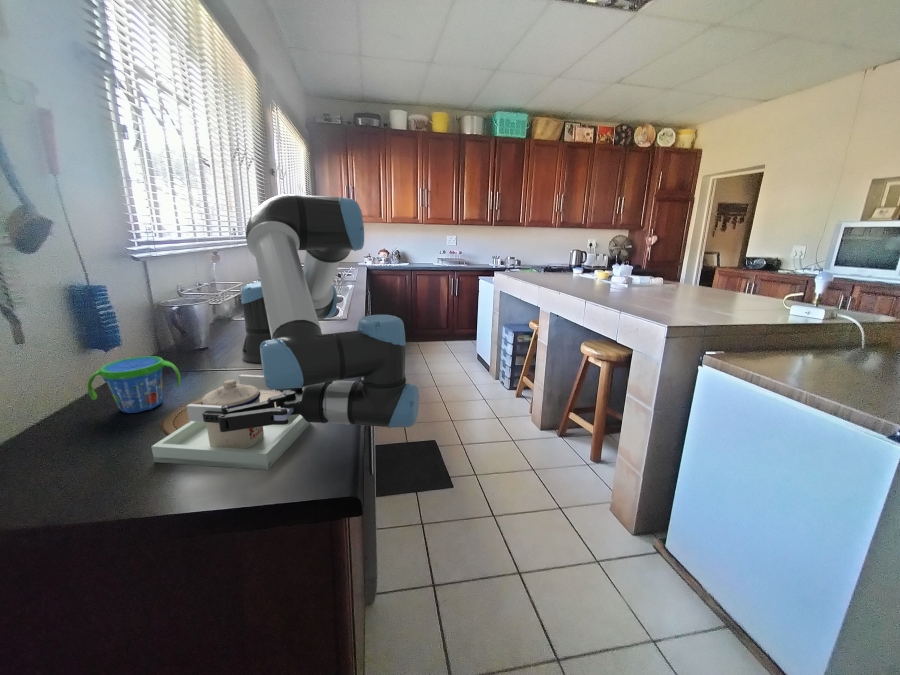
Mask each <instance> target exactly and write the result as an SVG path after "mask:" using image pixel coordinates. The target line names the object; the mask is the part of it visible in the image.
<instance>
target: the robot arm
mask: <svg viewBox="0 0 900 675" xmlns="http://www.w3.org/2000/svg"><path fill="white" fill-rule="evenodd" d="M363 219H364V218H363V214H362V210H361V207H360V204H359V203H358V202H357V201H356V200H355V199H353V198H348V197H342V196H324V195H305V194H293V193H292V194H291V193H290V194H289V193H288V194H286V193H285V194H279V195H276V196H273V197H270V198H269V199H267V200H264V201H263V202H262V203H261V204H260V205H258V207H257V208H256V209H255V210H254V211H253V212H252V214H251V215H250V217H249V219H248V222H247V225H246V229H245V238H246V244H247V249H248V250H249V252H250V253H251V255H252V256H253V257H255V260H256V266H257V271H258V276H259V281H258V282H253V283H250V284H246V285H244V286H243V287H242V288H241V292H240V293H241V304H242V310H243V320H244V321H243V322H244V328H245V329H244V330H245V337H244V341H243V345H242V346H243V347H242V350H241V354H242V360H244V362H248V363H254V364H261V367H262V368H261V369H262V375H261V374H260V375H259V374H257V375H256V374H239V375H238V384H242V385H251V386H254V387H256V388H257V389H258V390H259V391H274V390H275V392H280V394H279V395H274V396H270V397H268V398H267V400H263V401H260V402H258V403H253V404H248V405H244V406H239V407H234V408H230V409H228V407H227V406H225V405H224V406H217V405H201V404H200V403H199V404H196V403H195V404H194V403H189V404H187V405H185V406H186V412H187V417H188V421H189V422H190V421H198V422H210V423H211V422H212V423H219V426H220V432H227V431H234V430H241V429H247V428H254V427H261V426H268V425H285V424H288V417H289V416H290V415H296V414H300V415H301V416H302V417H303V418H304V419H305V420H306V421H307V422H311V423H315V424H316V423H317V424H327V423H330V424H339V425H345V426H350V425H357V426H366V427H367V426H368V427H381V428H382V427H383V428H384V427H385V428H387V429H388V428H389V429H391V428H410V427H412V426H414V424H415V423H416V421H417V417H418V413H419V407H420V406H419V405H420V403H419V402H420V395H419V394H420V393H419V388H418V387H417V385H415V384H411V383H408V382H407V379H406V378H407V377H406V344H407V343H406V332H405V324H404V321H403V320H402V318H400V317H397V316H396V315H391V314H372V315H371V314H370V315H368V316H363V317H361V318H360V319H359V321H358V323H357V324H358V325H357V330H351V331H350V330H349V331H343V332H342V331H340V332H334V333H325V334H324V333H322V328H321V325H320V322H319V320H325V319H330V318H331V317H334V315H335V314H336V313H337V312H336V311H337V308H338V307H337V305H338V294H337V290H336V288H335V286H334V284H333V282H334V279H335V276H336V274H337V271H338V268H339V265H340V263H341V262H343V261H344V260H345V259H346V258H348V256H349V255H350V253H351V251H354V252H357V251H361V250H362V249H363V247H364V245H365V224H364V220H363ZM298 251H305V257H304V262H303V266H302V263H301V259H300V256H299V252H298ZM354 378H360V381H357V380H352V381H351V380H348V379H354Z"/></svg>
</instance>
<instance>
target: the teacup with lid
mask: <svg viewBox="0 0 900 675" xmlns="http://www.w3.org/2000/svg"><path fill="white" fill-rule="evenodd" d="M260 397H261V390H258V389H257V388H256V387H254V386H251V385H242V384H240V383H237V381H236V379H225V380H224V381H223V383H222V385H221V386H219V387H218V388H216V389H214V390H210V392H208V393H206V394H205V395H203V397H202V399H201V404H200V405H217V406H224V405H225V406H227V407H228V409H230V408H234V407H239V406H244V405H248V404H253V403H258V402H261V400H260ZM206 425H207V431H208V437H209V443H210V447H222V448H238V449H247V448H250V447H252V446H254V445H255V444H257V443H258V442H259V441H260V440H261V439H262V438H263V435H264V431H263V426H261V427H254V428H247V429H241V430H234V431H227V432H220V426H219V423H212V422H211V423H210V422H206Z"/></svg>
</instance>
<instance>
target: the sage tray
mask: <svg viewBox="0 0 900 675" xmlns="http://www.w3.org/2000/svg"><path fill="white" fill-rule="evenodd" d="M311 423H312V422H307V421H306V420H305V419H304V418H303V417H302V416H301V415H300V414H296V415H290V416H289V417H288V424H285V425H268V426H263V431H264V435H263V438H262V439H261V440H260V441H259V442H258V443H257V444H255V445H254V446H252V447H250V448H247V449H238V448H222V447H210V443H209V437H208V431H207V425H206V422H198V421H189V422H187V423H186V424H184V425H183V426H181V427H179V428H178V429H176V430H175V431H173V432H171V433H170V434H168V435H167V436H165V437H164V438H162V439H161V440H159V441H157V442H156V443H155V444H153V445H151V446H150V448H151V452H152V456H153V461H154V463H159V464H161V463H163V464H175V465H179V464H180V465H192V466H206V467H217V468H218V467H219V468H220V467H221V468H234V469H250V470H264V471H268V470H269V469H271V468H272V467H273V465H274V464H275V463H276V462H277V461H278V460H279V459H280V458H281V457H282V455H284V453H285V452H287V450H288V449H289V448H290V447H291V446H292V445H293V443H294V442H295V441H296V440H298V438H299V437H300V436H301V434H303V432H305V430H306V429H307V428H308V427H309V426H310V425H311Z"/></svg>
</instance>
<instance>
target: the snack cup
mask: <svg viewBox="0 0 900 675" xmlns="http://www.w3.org/2000/svg"><path fill="white" fill-rule="evenodd" d="M164 367H169V368H172V370H173V371H174V373H175V376H176V382H177V388H180V387H181V386H180V385H181V383H182V382H181V381H182V378H181V373H180V371H179V370H180V369H179V368H178V367H177V366H176V365H175V364H174V363H173V362H171V361H169V360H165V359H163V357H160V356H155V355H153V356H152V355H149V356H147V355H146V356H136V357H128V358H122V359H119V360H116V361H111V362H109V363H107V364H105V365H103V366H102V367H100V369H98V370H96V371H95V372H94V373H92V375H91V376H90V377H89V380H88V382H87V393H88V395H89V397H90V399H91V400H92V401H95V400H97V398H98V394H97V393H96V391H95V388H94V386H93V382H94V380H95V378H96V377H97V376H101V378H102V379H103V380H104V382H105V383H106V384H107V386H108V387H107V388H109V391H110V393H111V395H112V397H113V398H114V402H115V403H116V405H117V407H118V409H119V410H120V411H121V412H123V413H127V414H133V413H141V412H145V411H148V410H152V409H153V408H156V407H158V406H159V405H160V404H162V403H163V400H164V394H163V391H164V389H163V388H164V386H163V382H164V381H163V368H164Z"/></svg>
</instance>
